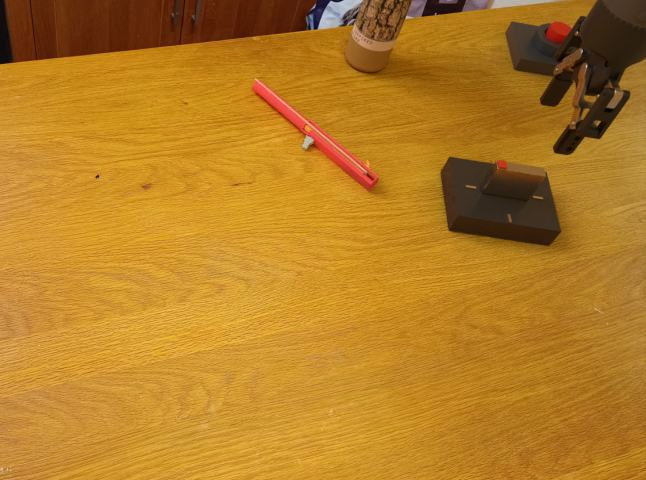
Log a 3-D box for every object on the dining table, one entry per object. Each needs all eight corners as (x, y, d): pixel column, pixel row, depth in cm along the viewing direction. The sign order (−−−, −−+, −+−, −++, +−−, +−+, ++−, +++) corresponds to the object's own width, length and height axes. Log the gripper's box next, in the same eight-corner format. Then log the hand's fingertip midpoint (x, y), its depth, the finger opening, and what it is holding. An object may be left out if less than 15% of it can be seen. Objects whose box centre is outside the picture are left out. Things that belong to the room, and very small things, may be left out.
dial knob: (526, 192, 100) (545, 166, 96) (528, 200, 99) (547, 175, 95) (480, 184, 99) (496, 158, 95) (481, 193, 98) (498, 167, 94)
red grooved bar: (359, 200, 100) (383, 180, 101) (360, 192, 98) (386, 171, 99) (241, 99, 108) (264, 80, 109) (240, 89, 106) (264, 70, 107)
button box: (573, 44, 125) (586, 23, 122) (585, 82, 120) (599, 61, 117) (505, 32, 125) (516, 11, 121) (514, 70, 119) (526, 48, 116)
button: (564, 33, 120) (570, 23, 119) (568, 46, 118) (575, 37, 117) (543, 29, 120) (549, 19, 119) (547, 42, 118) (553, 33, 117)
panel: (535, 187, 105) (547, 171, 102) (549, 246, 99) (562, 230, 96) (440, 172, 104) (449, 155, 101) (448, 230, 98) (458, 214, 95)
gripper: (695, 53, 71) (596, 174, 85) (656, -30, 79) (571, 93, 93) (620, 40, 71) (533, 164, 84) (589, -42, 78) (514, 84, 92)
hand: (553, 127), depth 88 cm, fingers open, 8 cm apart
